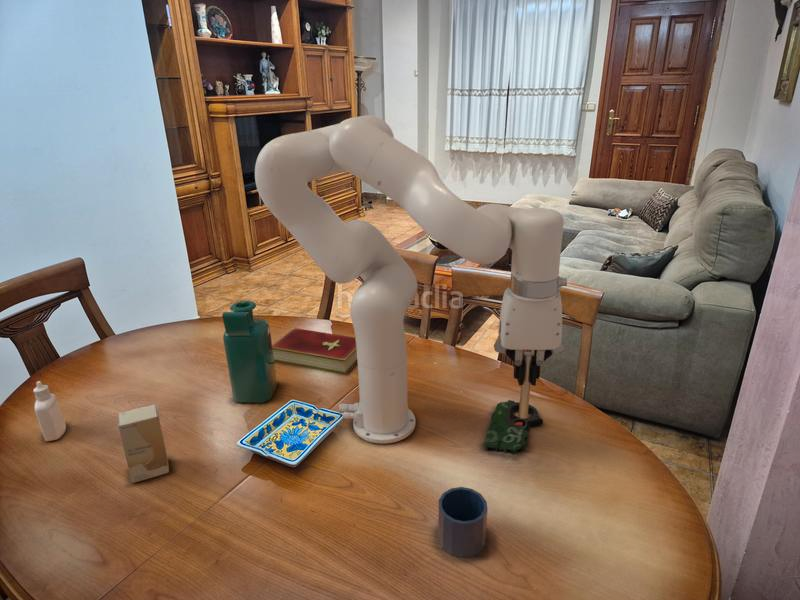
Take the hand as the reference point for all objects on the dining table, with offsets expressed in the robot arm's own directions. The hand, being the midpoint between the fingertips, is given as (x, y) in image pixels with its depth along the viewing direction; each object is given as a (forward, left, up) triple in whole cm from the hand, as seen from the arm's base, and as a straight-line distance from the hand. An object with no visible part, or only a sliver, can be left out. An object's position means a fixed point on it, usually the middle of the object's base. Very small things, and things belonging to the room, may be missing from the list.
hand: (525, 380), depth 91 cm
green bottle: (-56, +16, -15) cm, 60 cm away
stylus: (0, 0, -8) cm, 8 cm away
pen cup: (-12, -22, -15) cm, 29 cm away
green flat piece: (0, +5, -15) cm, 16 cm away
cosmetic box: (-67, -9, -15) cm, 69 cm away
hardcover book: (-45, +34, -15) cm, 58 cm away
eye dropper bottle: (-92, +1, -15) cm, 93 cm away
